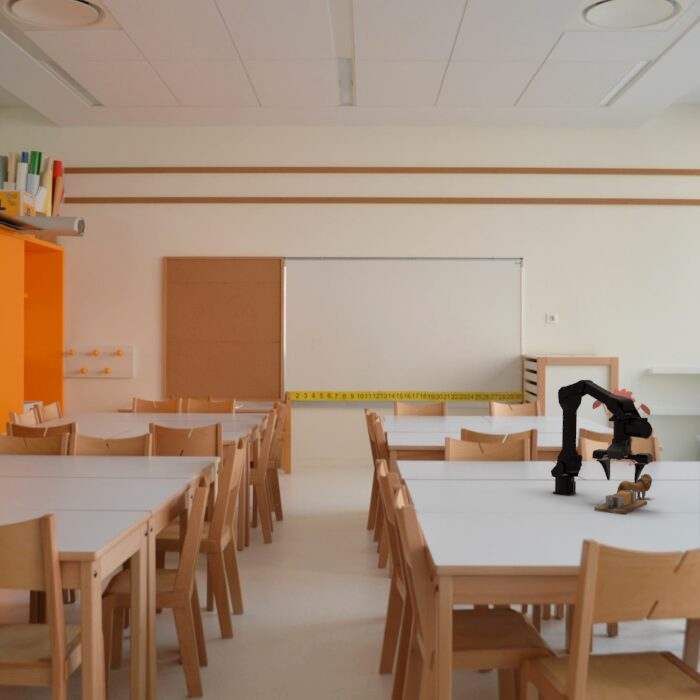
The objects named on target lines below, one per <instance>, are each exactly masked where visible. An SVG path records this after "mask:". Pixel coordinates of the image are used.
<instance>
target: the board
mask: <svg viewBox="0 0 700 700" xmlns="http://www.w3.org/2000/svg"><path fill="white" fill-rule="evenodd" d="M629 491H634V490H629ZM646 505H648V501H647V500H641V499H636V502H635V503H630V504H627V505H625V506H624V508H621V509H618V508H614V498H609V505H608V507H606V502H605V503H602V504H600V505H597V506H594V509H593V510H594V511H597V512H603V513H611V514H617V515H624V516H625V515H627V514H629V513H631V512H633V511H635V510H638V509H640V508H642V507H644V506H646Z"/></svg>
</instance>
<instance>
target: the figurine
mask: <svg viewBox="0 0 700 700" xmlns="http://www.w3.org/2000/svg"><path fill="white" fill-rule="evenodd" d="M612 392H613V393H612V394H614V395H618V396H623V397H626V398H629V399H631V400H633V402H634V403H635V402H636V399H635V398H634V397H633V396H632V395H633V391H629V390H627V388H622V389H621V390H619V389H618V388H614V389H613V391H612ZM600 406H602V407H603V410H604V412H605V414H606V416H607V415H613V414H612V413H611V412H609V413H608V412H607V410H606V409H607V408H606V405H605V404H603V403H601V402H600V401H598V400H596V399H595V401H594V402H593V403H592V410H595V409H597V408H599V407H600ZM636 409H637V411H638V412H639V410H640V409H641V410H642V411H643V412H644V413H645V414H647V416H650V415H651V410H650V408H649V407H648V406H647V405H646V404H644V403H641V404H640V405H639V406H638V408H636ZM611 437H613V434H611V435H610V436H608V437H607V446H608V447H609V446H610V440H609V438H611ZM632 446H633V441H632V442H631V450H632V449H633V448H632ZM632 454H634V455H636V454H635V453H634V452H633V451H632ZM615 461H618V462H620V461H621V462H623V459H621V460H617V459H615ZM628 463H629V464H628V465H629V466H631V464H632V463H633V464H635V463H637V462H636V461H635V460H629V461H628Z"/></svg>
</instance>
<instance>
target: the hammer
mask: <svg viewBox="0 0 700 700" xmlns="http://www.w3.org/2000/svg"><path fill="white" fill-rule="evenodd" d="M609 498H614V508H618V509H621V508H624V506H625V505H627V504H630V503H635V502H636V500H637V492H634V491H626V490H621V491H619V492H618V493H617V492H615V493H614V494H608V495H605V503H606V507H608V505H609Z"/></svg>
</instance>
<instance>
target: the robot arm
mask: <svg viewBox="0 0 700 700" xmlns="http://www.w3.org/2000/svg"><path fill="white" fill-rule="evenodd" d="M587 395H589V396H590V397H592V398H594V400H595V401H596V400H598V401H600V402H601V403H603V404H604V406H605V408H606V409H607V410H608V411H609V413H612V414H611V415H612V416H611V417H609V418H608V421H609V422H613V423H612V424H613V426H612V427H613V430H612V431H613V432H612V433H613V434H612V435H613V436H612V437H613V438H612V439H611V443H610V444H609V446H608V447H607V448H606V449H603V448H599V449H594V450H593V451H592V460H593V459H595V461H596V462H598V463H600V465H601V467H602V469H603V472H604V474H605V477H606V480H607V481H610V480H611V460H628V461H630V460H635V461H636V463H633V464H634V479H633V482H635V483H637V481H638V480H639V479H640V477H641V474H642V471H643V469H644V468H645V466H648V465H649V464H650V463H653V461H654V458H653V457H654V456H653V455H652V453H647V452H638V453H636V454H635V453H634V454H635V455H634V454H632V452H633V450H632V449H631V442H632V443H633V438H638V439H649V438H651V436H652V433H653V427H652V424H651V422H649V421H648V420H649V419H648V417H642V416H641V414H640V412H639V410H638V411H637V409H638V408H637V407H636V405H635V402H633V400H631V399H629V398H626V397H623V396H618V395H614V394H613V393H612V392H611V391H609V390H607V389H605V388H604V387H602V386H600V385H599V384H596V383H595V382H594V381H593V380H590V379H580V380H578V381H576V382H574V383H572V384H568V385H565V386H561V387H560V388H559V389H558V392H557V397H558V404H559V406H560V408H561V409H562V429H561V430H562V432H561V433H562V434H561V435H562V437H561V439H562V440H561V450H560V452H559V453H558V455H557V459H556V464H555V466H553V467H552V468H551V470H550V473H551V477H552V478H553V477H554V490H553V492H552V493H553V494H556V495H557V494H558V495H562V496H564V495H565V496H572V495H574V494H576V493H577V491H576V490H577V489H576V488H577V482H576V481H575V477H578V476H579V473H580V471H581V469H582V467H583V455H582V454H579V452H578V450H577V427H578V426H577V422H578V421H577V415H578V414H577V413H578V410H579V408H580V406H581V405H582V400H583V397H585V396H587ZM603 404H602V405H603Z"/></svg>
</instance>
